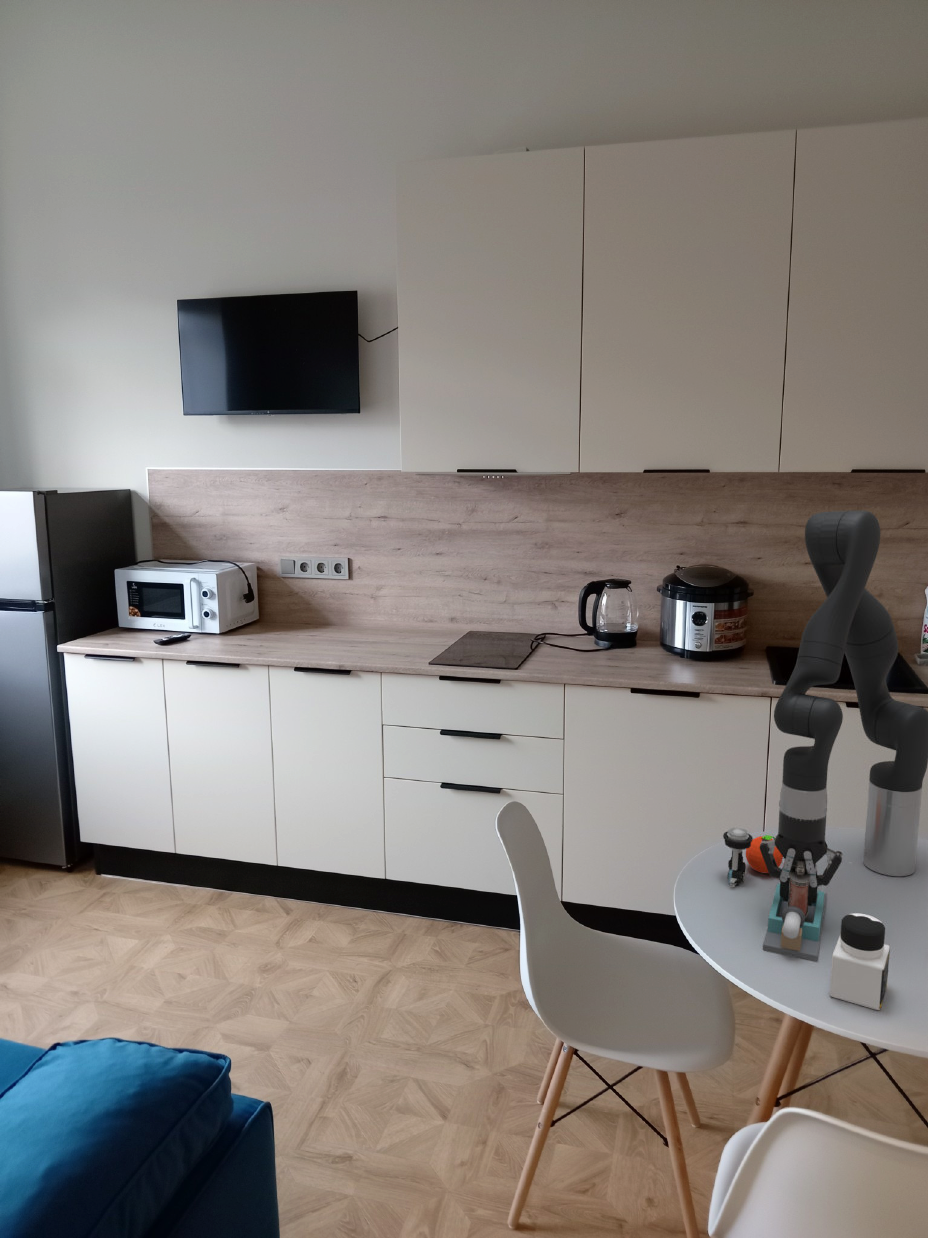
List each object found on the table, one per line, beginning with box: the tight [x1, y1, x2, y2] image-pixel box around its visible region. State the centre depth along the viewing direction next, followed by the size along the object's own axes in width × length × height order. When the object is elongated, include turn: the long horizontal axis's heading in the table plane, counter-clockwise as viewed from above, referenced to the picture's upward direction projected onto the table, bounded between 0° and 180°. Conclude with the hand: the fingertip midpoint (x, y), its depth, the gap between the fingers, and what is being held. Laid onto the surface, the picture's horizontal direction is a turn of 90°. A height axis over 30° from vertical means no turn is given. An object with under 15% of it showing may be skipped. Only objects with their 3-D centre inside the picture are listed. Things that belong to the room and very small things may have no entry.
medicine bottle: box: [829, 912, 891, 1011], centre depth 136 cm, size 7×7×12 cm
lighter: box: [788, 861, 810, 922], centre depth 155 cm, size 8×3×10 cm, turn 161°
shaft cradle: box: [762, 883, 828, 962], centre depth 156 cm, size 24×8×7 cm, turn 155°
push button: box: [722, 827, 754, 888], centre depth 170 cm, size 7×5×10 cm
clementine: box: [745, 834, 784, 874], centre depth 175 cm, size 8×7×7 cm
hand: (797, 901), depth 156 cm, fingers closed on lighter, 3 cm apart
